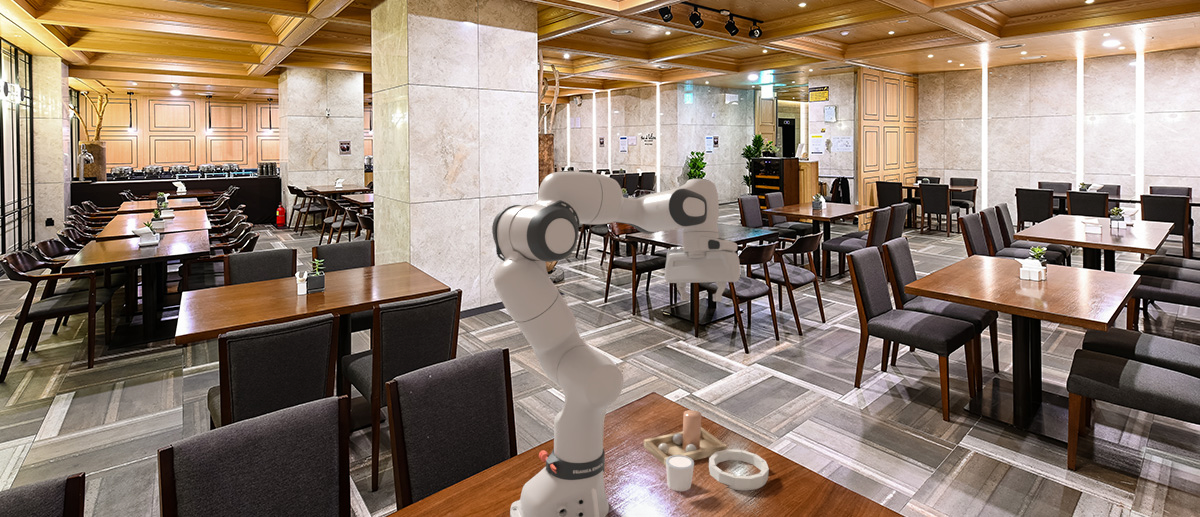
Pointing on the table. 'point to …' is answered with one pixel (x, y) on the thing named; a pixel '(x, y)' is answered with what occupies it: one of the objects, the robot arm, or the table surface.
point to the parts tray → (707, 448)
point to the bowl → (734, 480)
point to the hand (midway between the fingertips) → (700, 301)
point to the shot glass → (679, 472)
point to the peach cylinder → (691, 428)
